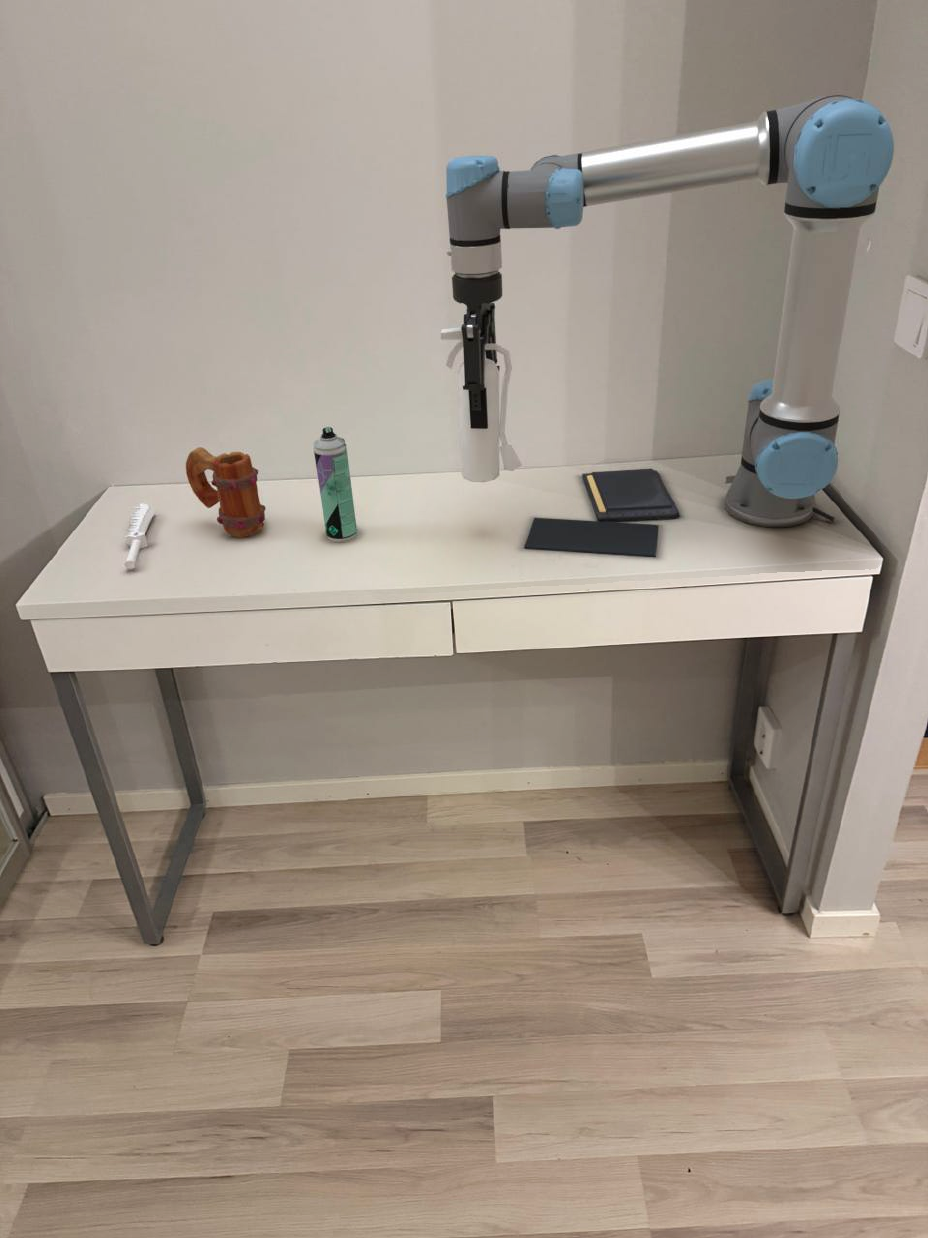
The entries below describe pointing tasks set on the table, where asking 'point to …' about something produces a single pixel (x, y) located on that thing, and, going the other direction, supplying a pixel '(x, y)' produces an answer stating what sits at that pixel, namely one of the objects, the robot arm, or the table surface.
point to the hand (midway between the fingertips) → (483, 419)
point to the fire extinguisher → (484, 443)
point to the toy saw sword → (138, 532)
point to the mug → (228, 489)
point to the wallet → (629, 495)
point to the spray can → (335, 487)
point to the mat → (593, 537)
